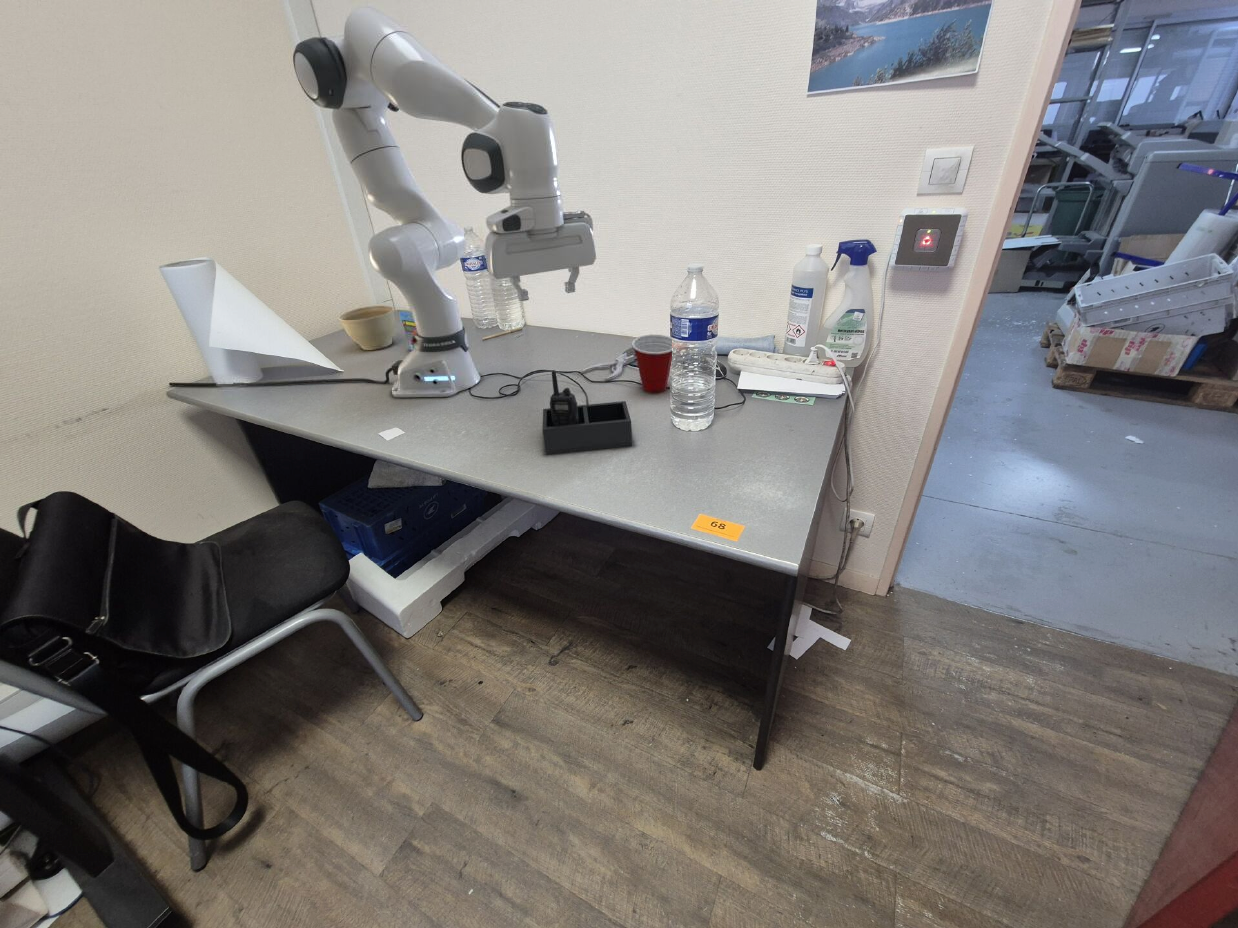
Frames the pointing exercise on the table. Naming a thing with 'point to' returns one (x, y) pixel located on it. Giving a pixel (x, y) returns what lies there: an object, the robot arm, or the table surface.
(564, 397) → the two-way radio
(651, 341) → the plastic cup
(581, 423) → the box
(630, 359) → the pliers
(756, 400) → the table surface
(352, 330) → the planter bowl
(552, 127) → the robot arm
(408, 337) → the tape cartridge
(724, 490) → the table surface
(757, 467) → the table surface
